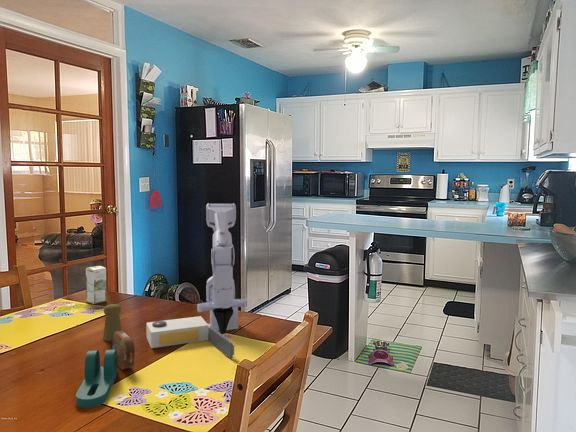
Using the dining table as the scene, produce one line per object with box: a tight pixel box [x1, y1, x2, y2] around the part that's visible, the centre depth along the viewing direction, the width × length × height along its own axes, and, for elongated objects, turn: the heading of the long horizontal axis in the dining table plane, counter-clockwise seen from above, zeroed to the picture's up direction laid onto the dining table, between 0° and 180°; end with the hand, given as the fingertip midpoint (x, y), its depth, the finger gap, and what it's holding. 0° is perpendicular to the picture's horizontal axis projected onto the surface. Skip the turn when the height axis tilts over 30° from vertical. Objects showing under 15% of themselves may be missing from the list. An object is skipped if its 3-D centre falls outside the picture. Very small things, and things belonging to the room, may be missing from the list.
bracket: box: [75, 349, 119, 409], centre depth 114 cm, size 18×7×8 cm, turn 11°
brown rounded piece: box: [110, 330, 136, 370], centre depth 129 cm, size 15×3×8 cm, turn 36°
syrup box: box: [85, 265, 107, 305], centre depth 189 cm, size 6×6×14 cm
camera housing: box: [146, 315, 209, 349], centre depth 148 cm, size 18×11×6 cm, turn 115°
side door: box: [207, 327, 235, 359], centre depth 140 cm, size 17×2×4 cm, turn 33°
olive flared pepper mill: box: [103, 303, 123, 342], centre depth 149 cm, size 6×6×11 cm
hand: (222, 332), depth 134 cm, fingers closed
